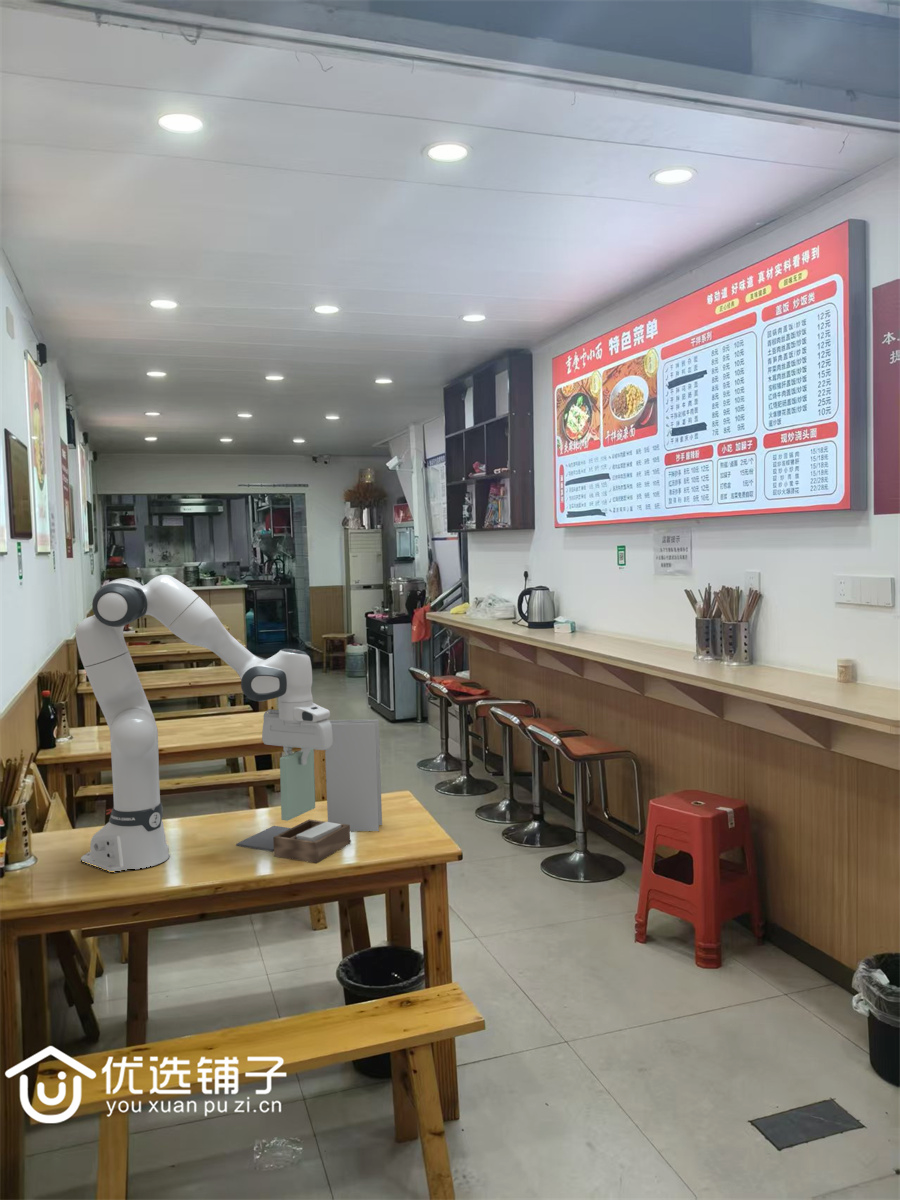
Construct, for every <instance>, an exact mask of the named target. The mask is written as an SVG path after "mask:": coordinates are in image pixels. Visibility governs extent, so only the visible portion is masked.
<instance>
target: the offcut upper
mask: <svg viewBox="0 0 900 1200" xmlns="http://www.w3.org/2000/svg"><path fill="white" fill-rule="evenodd" d="M339 828H341V824H337V823H331V822H328V821H325V823H322V824H320V825H318V826H316V827H313V828H311V829H309V830H307V831H304V832H302V833H300V834H298V835H296V839H300V840H307V841H314V842H315V841H317V840H319V839H321V838H322V837H324V836H326V835H328V834H330V833H332V832H333V831H335V830H337V829H339Z"/></svg>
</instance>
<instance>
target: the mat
mask: <svg viewBox="0 0 900 1200" xmlns="http://www.w3.org/2000/svg"><path fill="white" fill-rule="evenodd" d="M291 828H292V827H286V826H280V825H279V826H278V825H272V826H271V827H268V828H266V829H264V830H262V831H259V832H258V833H256V834H254V835H252V836H249V837H247V838H245V839H243V840H241V841H238V842H237V843H236V847H240V848H241V847H242V848H246V849H247V848H249V849H254V850H261V851H267V852H273V853H274V842H273V837H275V836H277V835H279V834H281V833H283V832H285V831H287V830H289V829H291Z"/></svg>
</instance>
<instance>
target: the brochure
mask: <svg viewBox="0 0 900 1200" xmlns="http://www.w3.org/2000/svg"><path fill="white" fill-rule="evenodd" d="M328 720H329V721H330V723H331V726H332V736H333V743H332V746H331V747H330V748H328V749H326V750H324V752H325V753H324V754H325V756H324V757H325V778H326V779H325V780H326V783H325V784H326V804H327V806H326V811H327V822H332V823H339V824H347V825H350V831H379V832H380V828H379V827H380V826H379V825H382V826H383V810H382V782H381V779H382V776H381V774H382V773H381V748H380V747H381V746H380V745H381V744H380V720H379V719H337V720H336V719H328Z"/></svg>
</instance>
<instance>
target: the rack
mask: <svg viewBox="0 0 900 1200" xmlns="http://www.w3.org/2000/svg"><path fill="white" fill-rule="evenodd" d="M325 822H326V820H325V821H323V820H316V819H308V820H305V821H303V822H301V823H299V824H297V825H295V826H292V827H290V828H291V829H289V830H287V831H285V832H283V833H281V834H279V835H277V836H275V837H273V842H274V851H273V857H276V858H281V859H282V858H283V859H289V860H295V861H300V860H301V862H306V861H308V862H307V863H312V862H314V863H313V864H317V862H318V863H320V862H321V861H323V860H325V859H326V858H327V856H328V857H330V856H331V855H333V854H335V853H337V852H338V851H340V850H342V849H343V848H345V847H347V846H348V844H349V845H350V844H351V832H350V825H347V824H341V828H339V829H337V830H335V831H333V832H332V833H330V834H328V835H326V836H324V837H322V838H321V839H319V840H317V841H315V842H314V841H307V840H300V839H296V835H298V834H300V833H302V832H304V831H307V830H309V829H311V828H313V827H316V826H318V825H320V824H322V823H325ZM331 823H332V822H331ZM337 824H339V823H337ZM346 845H347V846H346ZM341 848H342V849H341ZM339 849H340V850H339ZM337 850H338V851H337ZM336 851H337V852H336ZM334 852H335V853H334ZM329 855H330V856H329ZM324 858H325V859H324ZM322 859H323V860H322Z"/></svg>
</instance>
